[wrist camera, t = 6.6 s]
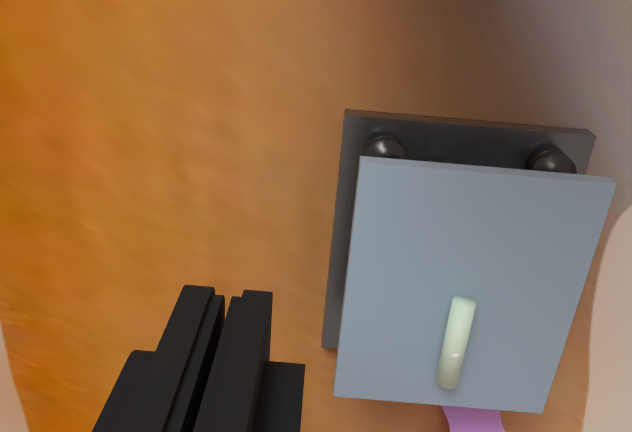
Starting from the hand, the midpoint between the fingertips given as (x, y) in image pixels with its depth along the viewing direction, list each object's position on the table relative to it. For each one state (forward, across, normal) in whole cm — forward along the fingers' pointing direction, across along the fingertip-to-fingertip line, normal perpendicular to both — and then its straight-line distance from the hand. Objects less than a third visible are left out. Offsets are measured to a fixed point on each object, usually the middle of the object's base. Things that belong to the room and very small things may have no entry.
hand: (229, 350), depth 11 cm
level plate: (+26, -12, +15) cm, 32 cm away
